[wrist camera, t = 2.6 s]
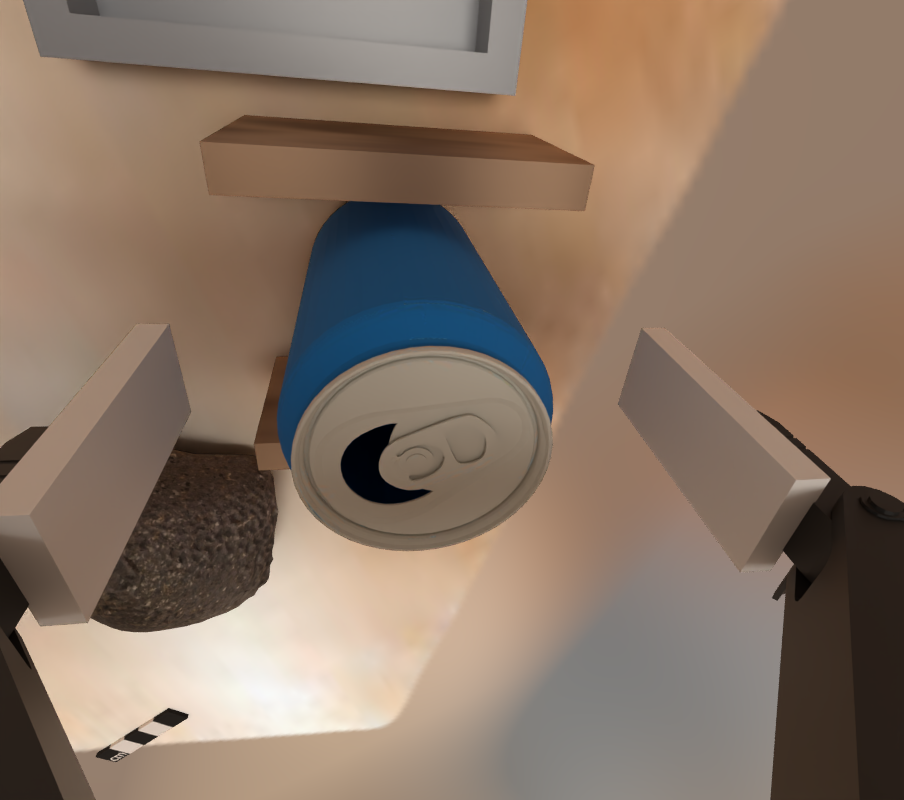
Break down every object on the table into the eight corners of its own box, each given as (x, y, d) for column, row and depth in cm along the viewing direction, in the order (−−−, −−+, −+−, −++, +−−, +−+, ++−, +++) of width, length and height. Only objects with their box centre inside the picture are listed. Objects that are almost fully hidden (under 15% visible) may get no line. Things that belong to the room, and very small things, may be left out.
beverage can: (279, 223, 19) (199, 406, 9) (440, 157, 19) (534, 275, 9) (354, 360, 23) (353, 593, 13) (489, 308, 22) (593, 508, 13)
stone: (303, 488, 31) (324, 471, 22) (238, 633, 28) (231, 685, 19) (137, 422, 28) (82, 373, 19) (46, 574, 26) (-68, 600, 16)
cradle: (279, 380, 23) (258, 470, 18) (244, 115, 17) (199, 141, 12) (496, 376, 24) (531, 458, 20) (532, 134, 19) (594, 165, 14)
